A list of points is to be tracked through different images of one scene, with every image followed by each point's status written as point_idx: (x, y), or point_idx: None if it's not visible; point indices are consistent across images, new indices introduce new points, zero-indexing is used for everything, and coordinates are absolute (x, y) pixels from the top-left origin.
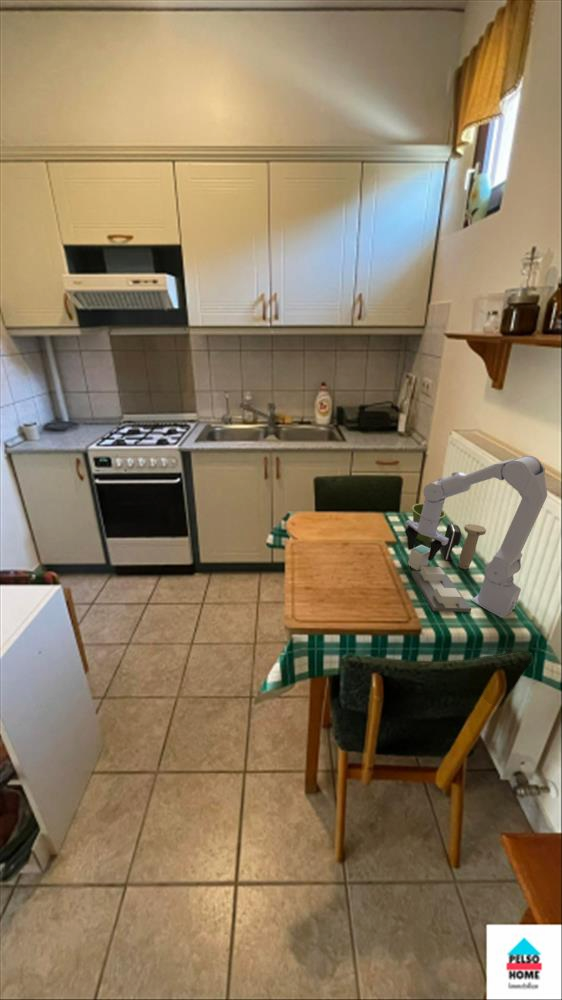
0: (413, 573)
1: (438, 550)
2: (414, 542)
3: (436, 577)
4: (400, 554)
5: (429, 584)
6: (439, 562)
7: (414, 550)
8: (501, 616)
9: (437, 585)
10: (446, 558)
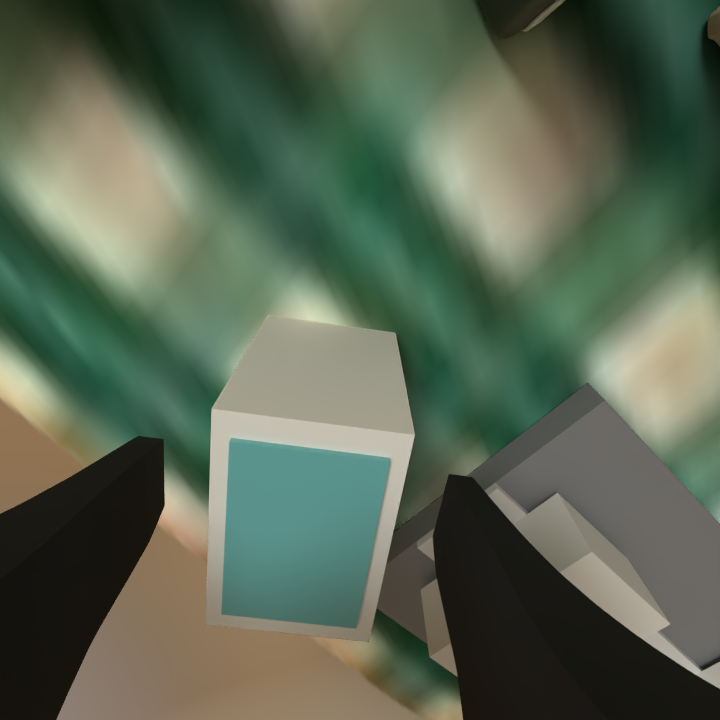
0: (377, 607)
1: (560, 576)
2: (115, 494)
3: None
4: (94, 361)
5: None
6: (472, 165)
7: (245, 616)
8: None
9: None
10: (536, 24)
